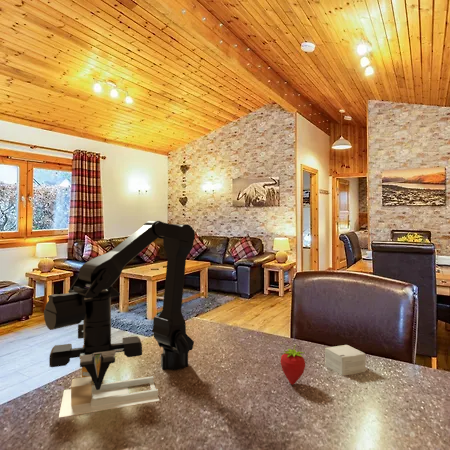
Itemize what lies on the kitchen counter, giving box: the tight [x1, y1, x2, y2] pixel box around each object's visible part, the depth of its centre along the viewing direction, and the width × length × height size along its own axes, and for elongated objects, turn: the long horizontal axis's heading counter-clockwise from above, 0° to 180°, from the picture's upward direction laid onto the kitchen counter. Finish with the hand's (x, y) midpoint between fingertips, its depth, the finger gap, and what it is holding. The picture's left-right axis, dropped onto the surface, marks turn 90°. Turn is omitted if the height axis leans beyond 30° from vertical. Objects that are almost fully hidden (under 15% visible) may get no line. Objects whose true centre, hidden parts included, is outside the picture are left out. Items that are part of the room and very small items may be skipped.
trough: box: [58, 375, 160, 418], centre depth 79 cm, size 20×12×3 cm, turn 110°
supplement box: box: [81, 344, 101, 382], centre depth 88 cm, size 3×3×10 cm
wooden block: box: [70, 376, 93, 406], centre depth 77 cm, size 4×4×4 cm
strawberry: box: [280, 344, 306, 386], centre depth 88 cm, size 6×8×10 cm
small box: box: [324, 344, 367, 377], centre depth 98 cm, size 8×8×5 cm
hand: (98, 389), depth 78 cm, fingers closed
